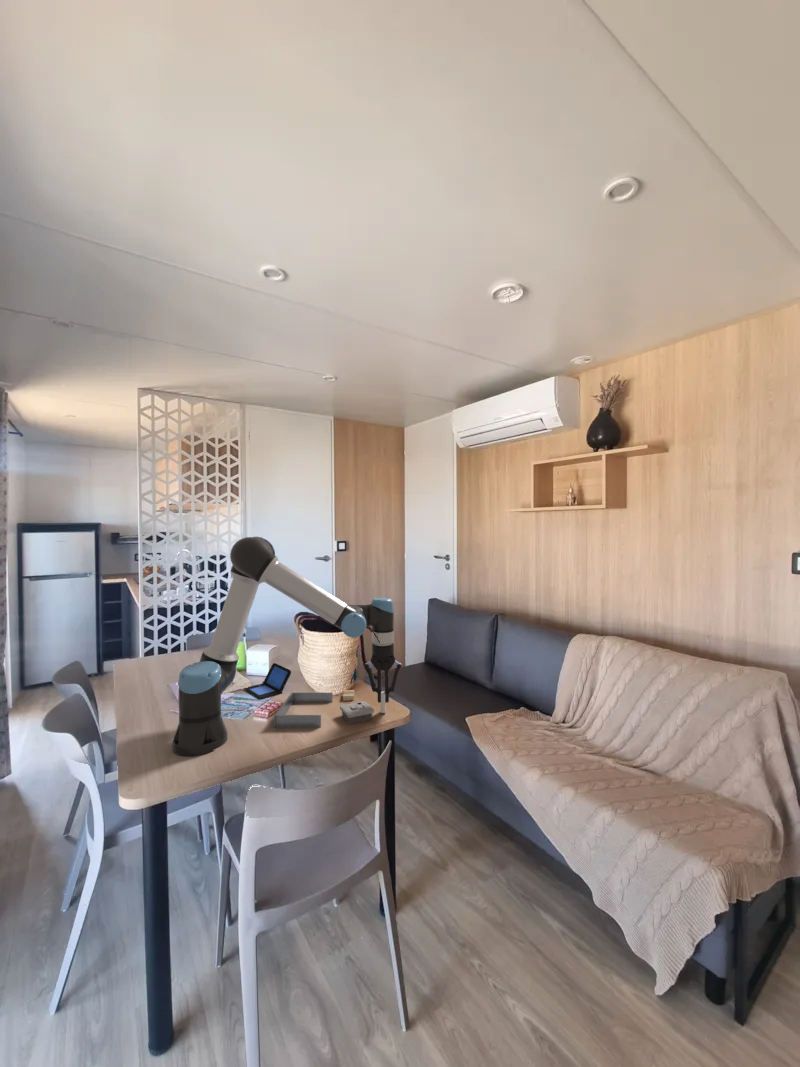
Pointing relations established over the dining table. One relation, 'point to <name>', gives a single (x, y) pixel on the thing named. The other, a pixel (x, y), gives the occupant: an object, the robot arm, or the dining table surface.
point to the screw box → (348, 695)
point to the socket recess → (300, 720)
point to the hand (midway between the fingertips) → (383, 711)
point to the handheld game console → (271, 683)
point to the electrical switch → (357, 712)
